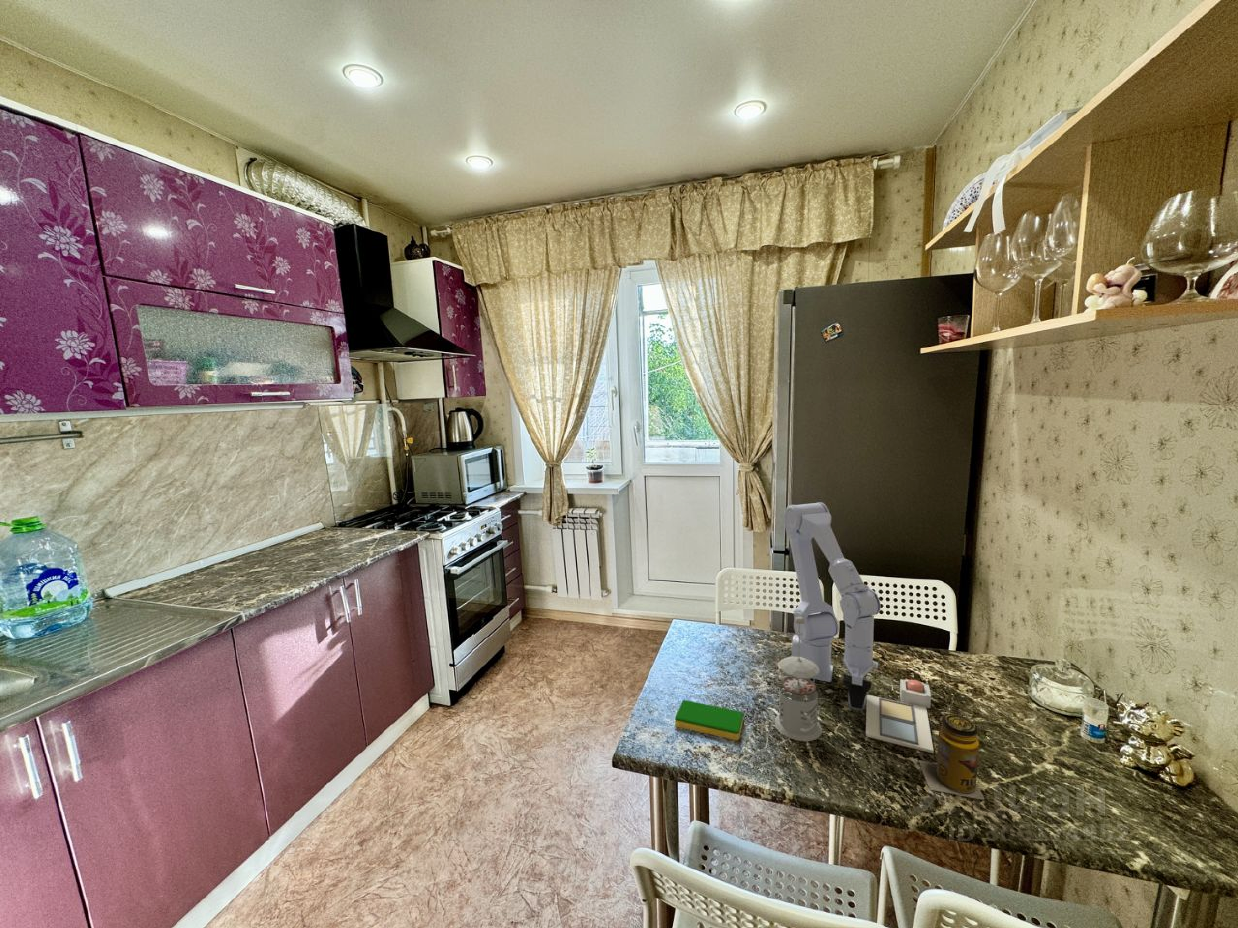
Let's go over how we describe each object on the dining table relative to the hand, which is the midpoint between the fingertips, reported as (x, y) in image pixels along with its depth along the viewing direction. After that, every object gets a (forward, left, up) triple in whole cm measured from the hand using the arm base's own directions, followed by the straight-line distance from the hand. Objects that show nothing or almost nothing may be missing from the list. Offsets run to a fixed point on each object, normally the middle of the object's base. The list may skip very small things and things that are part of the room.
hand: (857, 697), depth 112 cm
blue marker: (0, 0, -2) cm, 2 cm away
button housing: (+12, +8, -2) cm, 15 cm away
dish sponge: (-29, -20, -3) cm, 35 cm away
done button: (+12, +8, -2) cm, 15 cm away
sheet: (+8, -3, -2) cm, 9 cm away
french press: (-11, -12, -2) cm, 16 cm away
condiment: (+16, -17, -2) cm, 23 cm away
